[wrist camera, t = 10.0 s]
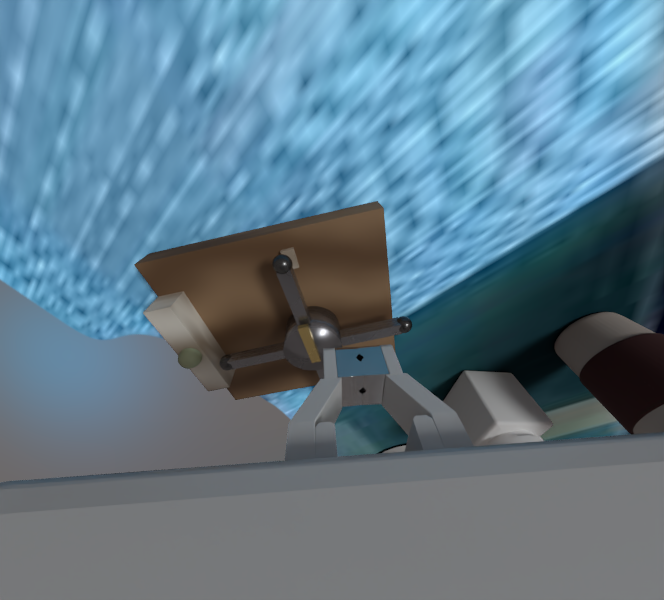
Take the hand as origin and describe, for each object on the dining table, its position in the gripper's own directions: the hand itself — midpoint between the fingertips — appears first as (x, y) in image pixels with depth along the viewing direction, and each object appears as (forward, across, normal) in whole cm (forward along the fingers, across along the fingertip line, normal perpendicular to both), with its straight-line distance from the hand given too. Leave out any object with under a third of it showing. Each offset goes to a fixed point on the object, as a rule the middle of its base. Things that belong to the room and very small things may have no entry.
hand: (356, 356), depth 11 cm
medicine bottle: (+13, -19, +21) cm, 31 cm away
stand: (+12, +5, +6) cm, 15 cm away
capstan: (+10, +2, +7) cm, 13 cm away
